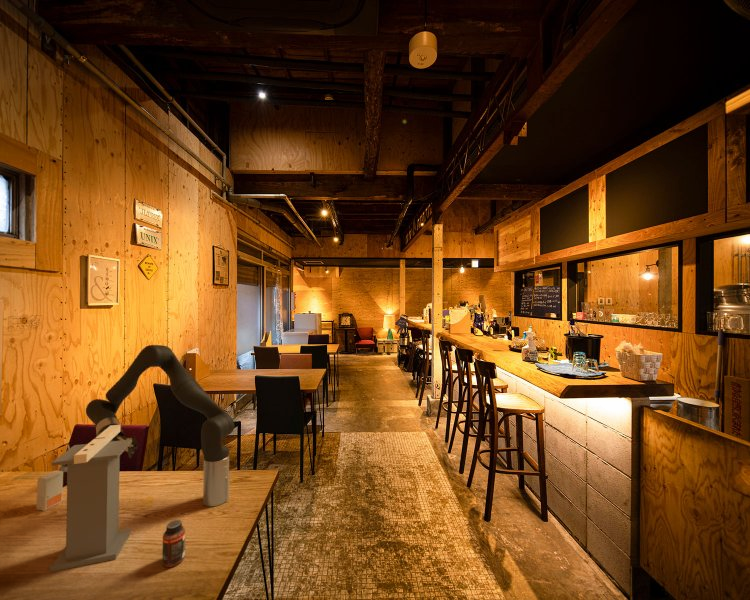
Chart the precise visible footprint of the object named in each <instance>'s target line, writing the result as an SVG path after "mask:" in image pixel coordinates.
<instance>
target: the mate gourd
mask: <svg viewBox="0 0 750 600" xmlns="http://www.w3.org/2000/svg"><path fill="white" fill-rule="evenodd" d="M66 445H67V450H69V449H70V448H71V447H70V445H69V444H66ZM58 471H63V488H65V487H67V464H63V465H60V467H59V468H58Z"/></svg>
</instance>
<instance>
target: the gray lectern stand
mask: <svg viewBox="0 0 750 600" xmlns="http://www.w3.org/2000/svg"><path fill="white" fill-rule="evenodd" d="M131 443H132V439H130V440H121V441H111V442H108V443H107V444H106V445H105V446H104V447H103V448H102V449H101V450H100V451H99V452H97V453H96V454H95V455H94V456H93V457H92V458H91V459H90V460H89V461H88V462H87V463H78V464H74V455H75V454H76V453H78V452H79V451H80V450H81V449H82V448H84V447H85V446H86V445H87V444H88V443H84V444H75V445H73V446H71V447H69V448H70V449H69V450H68V449H67V450H66V451H65V452H64V453H62V454H61V455H59V457H56V459H54V460H53V461H52V462H51V466H62V465H64V464H67V485H66V522H65V523H66V526H65V527H66V529H65V531H66V532H65V533H66V534H65V547H64V549H63V550H62V552H61V553H60V554H59V555H58V557H57V558H56V559H55V560H54V561H53V563H52V564H51V565H50V566H49V573H53V572H59V571H63V570H68V569H74V568H78V567H84V566H89V565H93V564H99V563H104V562H109V561H114V560H116V559H117V558H118V556H119V554H120V553H121V551H122V549H123V547H124V545H125V544H126V543H127V540H128V538H129V537H130V535H131V532H132V531H131V530H132V529H131V528H127V529H122V530H121V529H120V530H119V523H120V522H119V521H120V519H119V518H120V517H119V516H120V514H119V511H120V466H121V465H120V463H121V462H120V459H121V455H122V454H123V453H124V452H126V451H125V449H126V448H129V447H128V446H129V445H130V444H131Z"/></svg>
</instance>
